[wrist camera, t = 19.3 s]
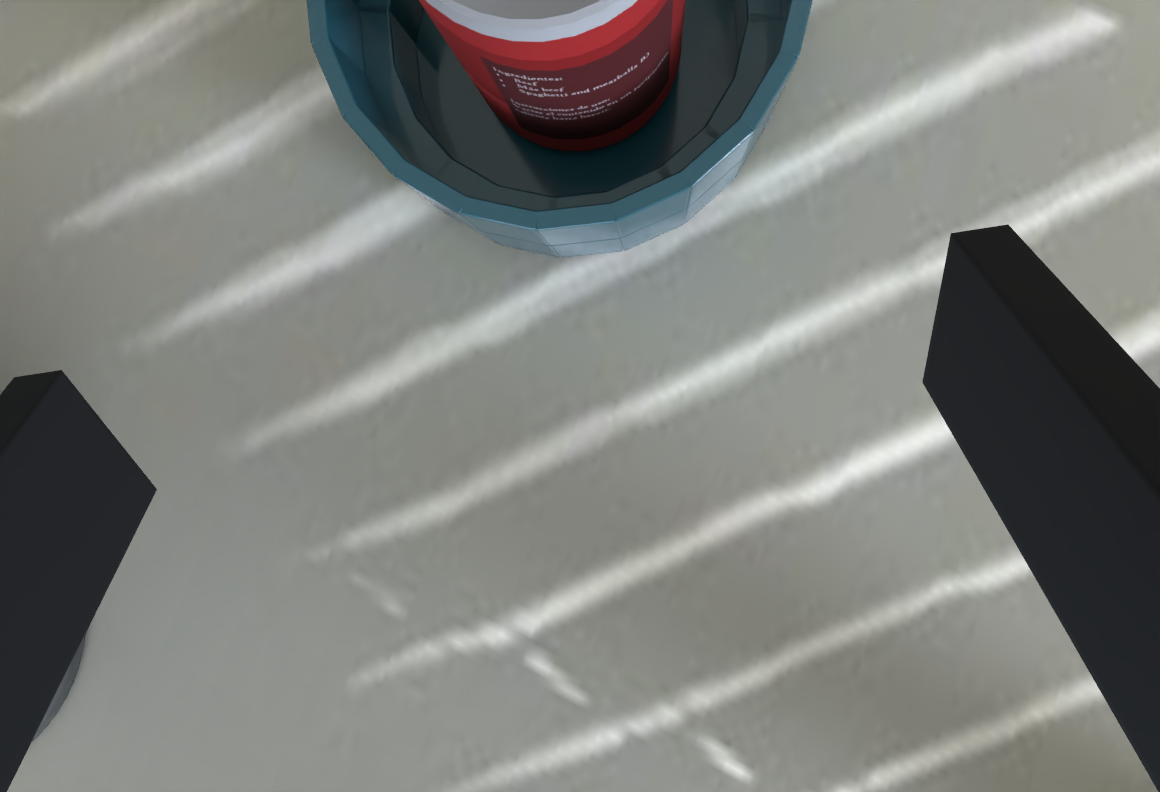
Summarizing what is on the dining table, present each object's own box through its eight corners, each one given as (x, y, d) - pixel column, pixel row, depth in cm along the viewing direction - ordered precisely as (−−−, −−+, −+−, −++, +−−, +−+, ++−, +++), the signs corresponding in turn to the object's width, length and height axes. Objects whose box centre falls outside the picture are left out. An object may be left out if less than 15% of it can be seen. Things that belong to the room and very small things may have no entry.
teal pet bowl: (346, 213, 30) (261, 172, 24) (426, -180, 29) (360, -336, 23) (726, 295, 29) (746, 275, 22) (823, -114, 28) (874, -259, 21)
